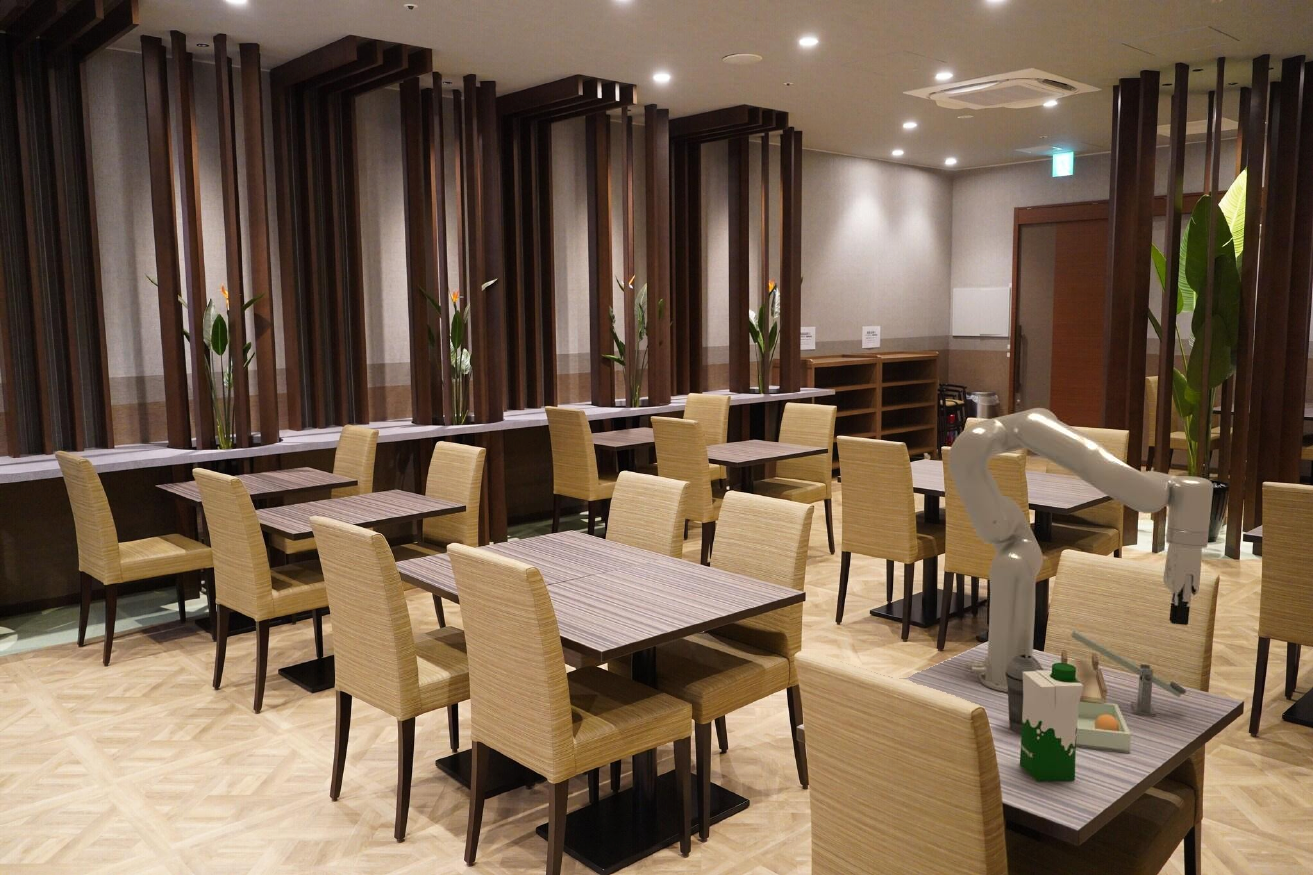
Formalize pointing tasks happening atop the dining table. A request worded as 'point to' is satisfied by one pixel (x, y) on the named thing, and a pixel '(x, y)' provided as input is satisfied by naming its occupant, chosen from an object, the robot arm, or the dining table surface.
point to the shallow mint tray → (1099, 737)
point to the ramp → (1088, 678)
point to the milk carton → (1050, 722)
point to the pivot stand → (1144, 693)
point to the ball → (1107, 723)
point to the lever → (1128, 664)
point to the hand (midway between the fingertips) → (1178, 622)
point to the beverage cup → (1018, 686)
